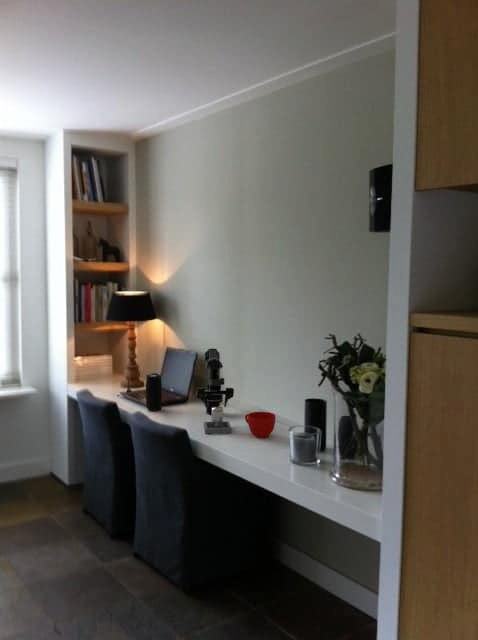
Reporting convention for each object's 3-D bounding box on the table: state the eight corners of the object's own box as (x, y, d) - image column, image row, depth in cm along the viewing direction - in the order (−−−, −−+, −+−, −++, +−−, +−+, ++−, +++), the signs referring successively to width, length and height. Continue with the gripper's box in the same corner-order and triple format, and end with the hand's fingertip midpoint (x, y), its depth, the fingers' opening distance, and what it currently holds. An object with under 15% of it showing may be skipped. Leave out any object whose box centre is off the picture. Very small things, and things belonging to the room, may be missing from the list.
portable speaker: (144, 411, 334) (143, 375, 332) (148, 407, 343) (148, 372, 341) (159, 411, 333) (159, 376, 331) (163, 407, 342) (163, 373, 340)
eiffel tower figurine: (115, 396, 374) (115, 374, 372) (131, 394, 379) (130, 372, 378) (124, 400, 361) (124, 378, 360) (140, 398, 366) (140, 376, 365)
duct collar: (203, 426, 303) (203, 421, 303) (228, 426, 304) (228, 421, 304) (205, 434, 291) (205, 428, 290) (231, 433, 292) (231, 428, 292)
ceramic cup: (255, 428, 300) (255, 408, 299) (281, 436, 288) (281, 415, 287) (236, 434, 291) (236, 413, 290) (262, 441, 279) (262, 420, 278)
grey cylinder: (216, 427, 302) (216, 405, 301) (227, 429, 298) (227, 407, 297) (207, 430, 297) (207, 408, 296) (218, 432, 293) (218, 410, 292)
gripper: (196, 372, 307) (197, 399, 298) (234, 372, 310) (236, 398, 300) (195, 384, 316) (196, 410, 306) (231, 384, 318) (233, 410, 309)
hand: (215, 407), depth 305 cm, fingers open, 9 cm apart
